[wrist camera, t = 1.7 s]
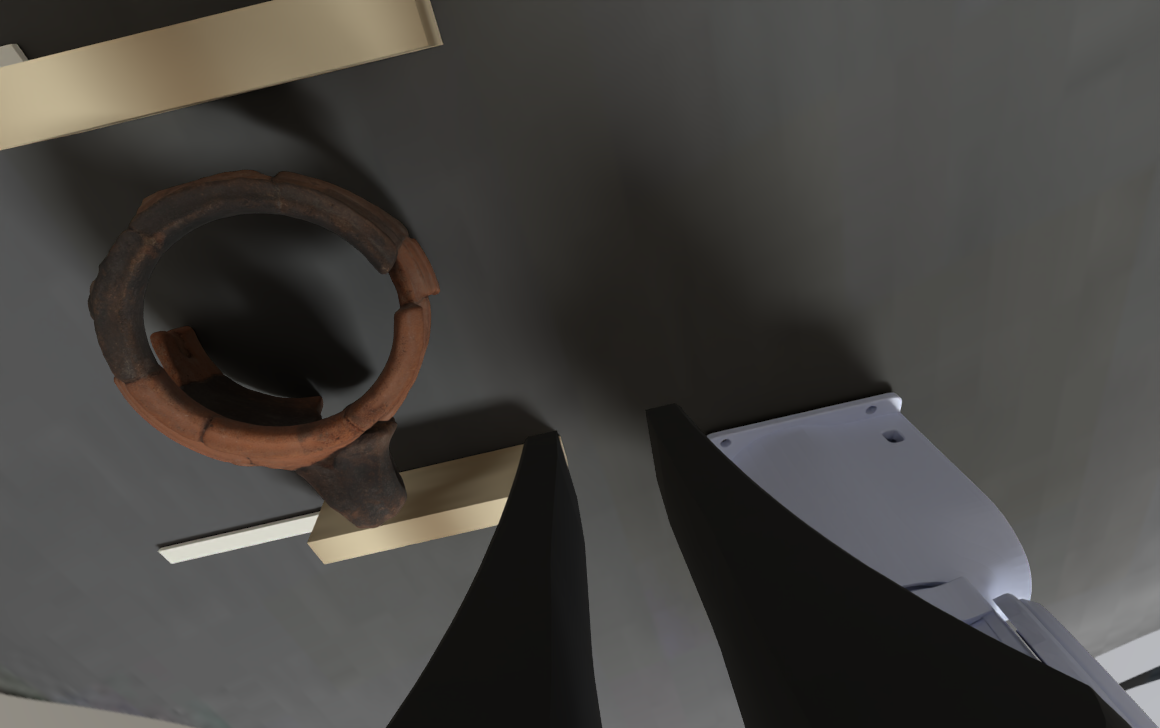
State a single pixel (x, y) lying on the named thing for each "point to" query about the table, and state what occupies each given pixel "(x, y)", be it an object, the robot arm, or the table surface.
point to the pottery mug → (249, 418)
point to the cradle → (234, 66)
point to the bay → (226, 540)
